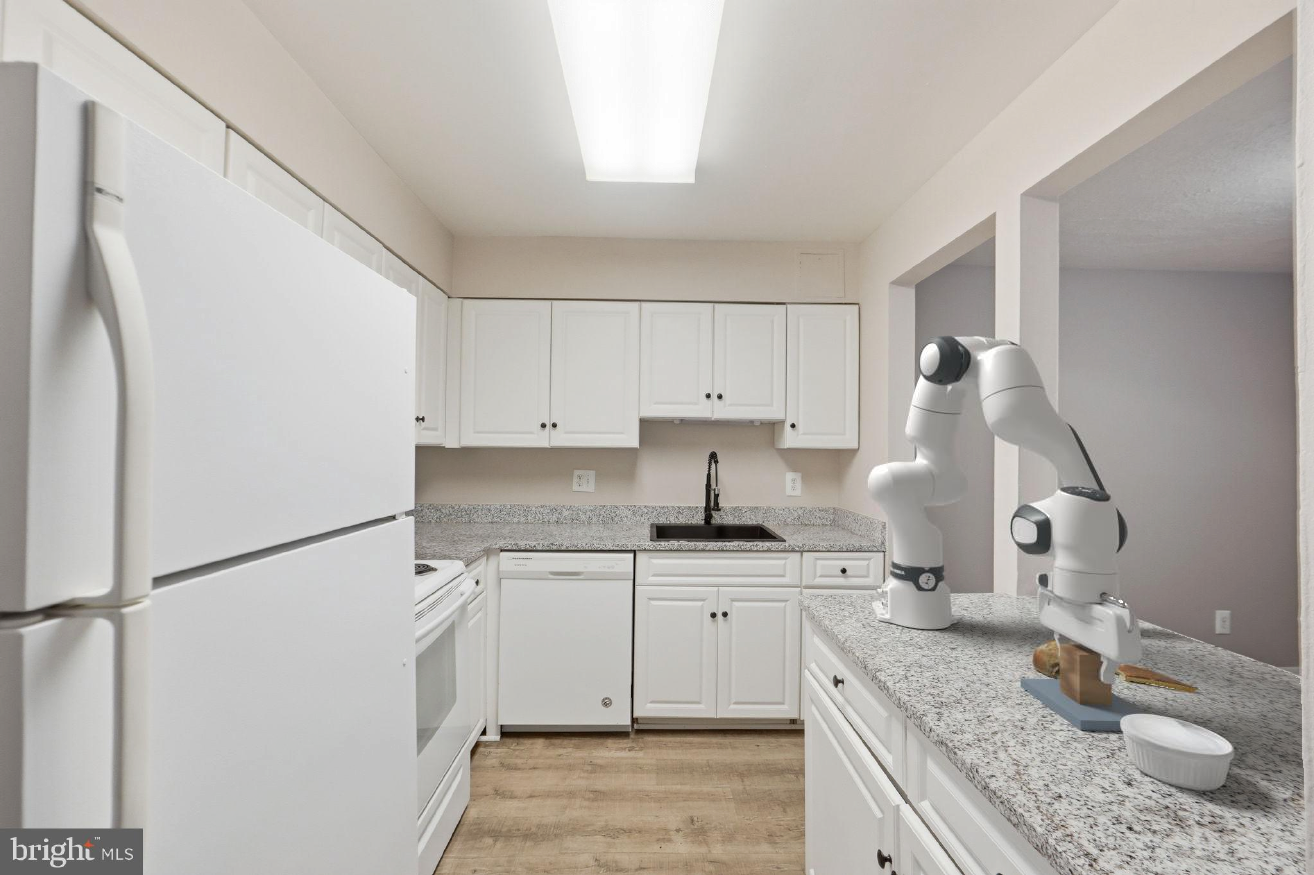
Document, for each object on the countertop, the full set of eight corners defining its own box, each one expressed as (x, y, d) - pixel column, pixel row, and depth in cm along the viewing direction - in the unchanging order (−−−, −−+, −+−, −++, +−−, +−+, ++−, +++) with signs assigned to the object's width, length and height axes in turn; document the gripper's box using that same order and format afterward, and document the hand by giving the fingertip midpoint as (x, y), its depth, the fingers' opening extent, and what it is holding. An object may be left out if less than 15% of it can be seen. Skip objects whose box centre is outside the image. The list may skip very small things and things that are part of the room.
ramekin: (1256, 788, 75) (1255, 746, 75) (1194, 804, 72) (1194, 760, 72) (1158, 745, 85) (1158, 708, 85) (1101, 756, 82) (1100, 718, 82)
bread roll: (1037, 694, 111) (1041, 662, 108) (1025, 654, 120) (1029, 623, 117) (1100, 702, 108) (1106, 669, 105) (1083, 660, 117) (1088, 629, 114)
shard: (1198, 696, 103) (1198, 686, 103) (1161, 699, 102) (1161, 689, 102) (1138, 672, 114) (1138, 663, 114) (1104, 674, 113) (1104, 665, 113)
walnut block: (1059, 691, 100) (1059, 643, 100) (1090, 692, 100) (1090, 644, 100) (1079, 704, 95) (1079, 654, 95) (1111, 705, 95) (1111, 655, 95)
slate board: (1020, 686, 106) (1020, 678, 106) (1090, 688, 105) (1090, 679, 105) (1080, 730, 90) (1080, 720, 90) (1162, 732, 89) (1162, 722, 89)
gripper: (1155, 603, 87) (1155, 697, 87) (1065, 573, 108) (1065, 649, 107) (1110, 602, 87) (1110, 696, 87) (1030, 572, 108) (1030, 648, 108)
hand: (1085, 670), depth 98 cm, fingers open, 8 cm apart
